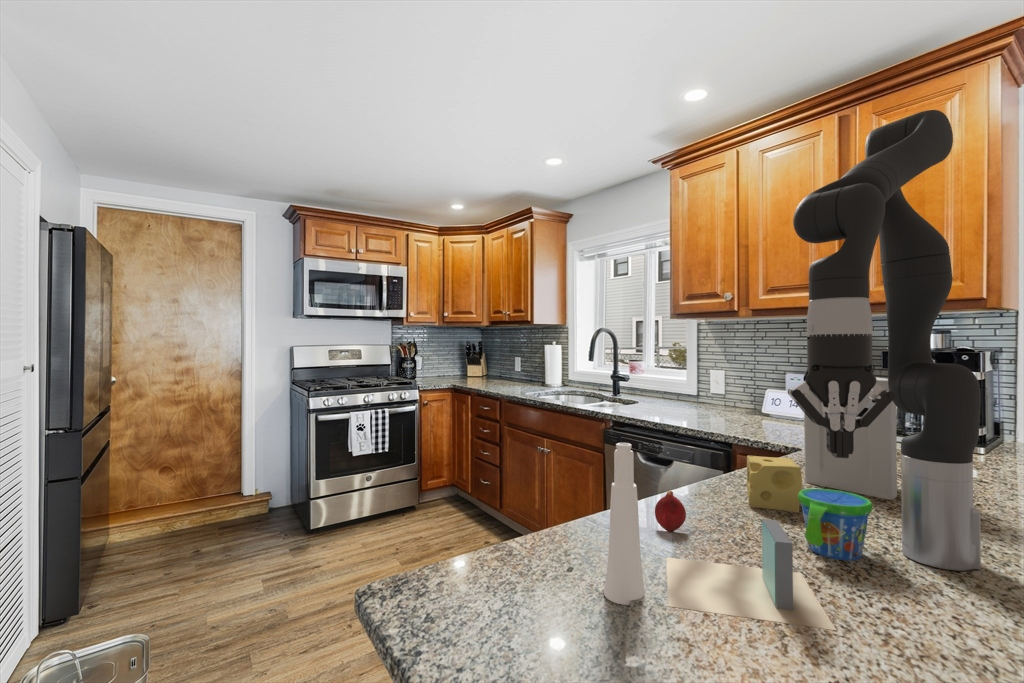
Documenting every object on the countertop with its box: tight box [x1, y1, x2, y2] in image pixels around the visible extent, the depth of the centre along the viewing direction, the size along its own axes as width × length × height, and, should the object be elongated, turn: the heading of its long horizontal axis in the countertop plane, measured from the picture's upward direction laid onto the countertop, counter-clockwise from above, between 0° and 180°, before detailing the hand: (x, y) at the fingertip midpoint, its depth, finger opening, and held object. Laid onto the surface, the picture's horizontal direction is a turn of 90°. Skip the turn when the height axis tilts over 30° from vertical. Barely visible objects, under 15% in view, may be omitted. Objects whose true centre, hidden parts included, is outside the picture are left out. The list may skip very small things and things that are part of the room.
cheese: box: [746, 455, 803, 513], centre depth 112 cm, size 10×11×10 cm
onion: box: [654, 490, 687, 533], centre depth 95 cm, size 6×6×8 cm
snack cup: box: [798, 488, 874, 562], centre depth 84 cm, size 16×10×10 cm
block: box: [761, 518, 794, 611], centre depth 70 cm, size 2×9×9 cm, turn 163°
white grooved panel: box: [803, 376, 898, 501], centre depth 127 cm, size 19×15×28 cm
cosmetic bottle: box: [603, 442, 646, 606], centre depth 71 cm, size 6×6×22 cm
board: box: [665, 556, 837, 632], centre depth 71 cm, size 20×16×1 cm
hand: (839, 456), depth 68 cm, fingers closed
